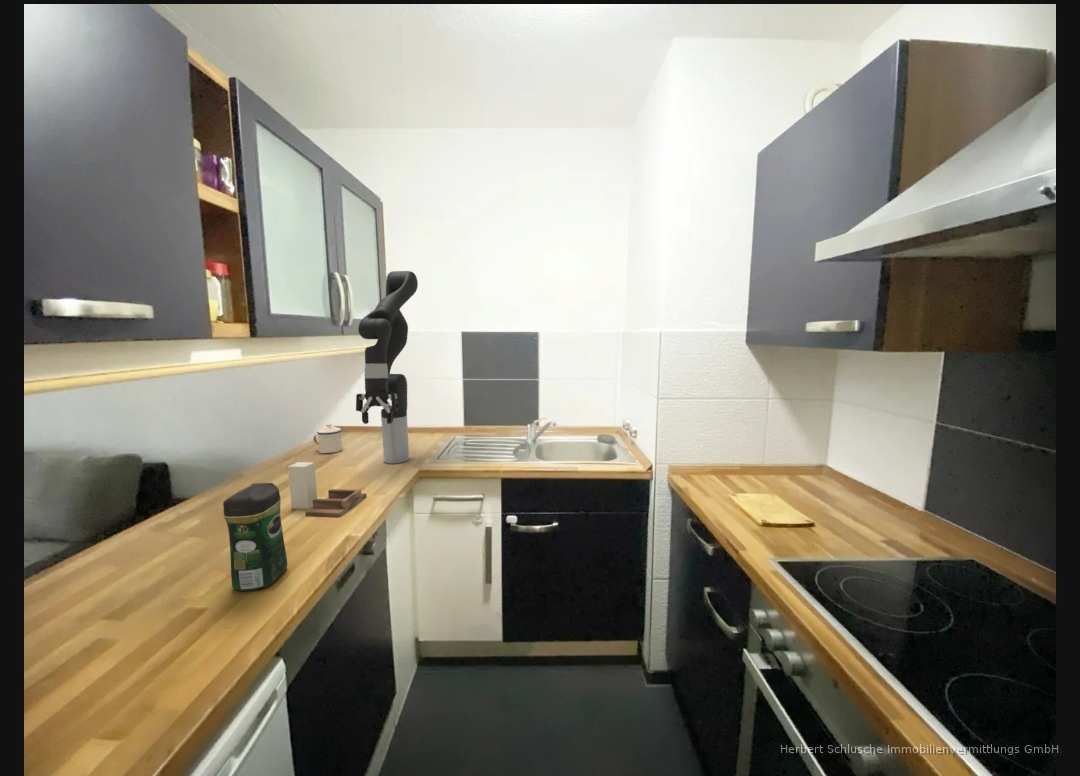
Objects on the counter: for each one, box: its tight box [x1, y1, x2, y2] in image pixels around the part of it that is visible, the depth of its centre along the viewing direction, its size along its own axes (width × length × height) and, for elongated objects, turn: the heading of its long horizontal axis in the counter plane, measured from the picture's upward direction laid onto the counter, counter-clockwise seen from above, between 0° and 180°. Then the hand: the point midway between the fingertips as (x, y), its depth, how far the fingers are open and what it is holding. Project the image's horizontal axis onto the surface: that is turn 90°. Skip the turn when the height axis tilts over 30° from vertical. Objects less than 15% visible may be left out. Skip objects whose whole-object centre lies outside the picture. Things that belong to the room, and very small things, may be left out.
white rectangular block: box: [287, 461, 318, 510], centre depth 118 cm, size 4×5×12 cm
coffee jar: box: [222, 482, 288, 592], centre depth 82 cm, size 10×8×19 cm
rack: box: [304, 488, 368, 518], centre depth 118 cm, size 14×10×3 cm
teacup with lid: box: [312, 423, 343, 454], centre depth 175 cm, size 12×9×12 cm
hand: (377, 423), depth 146 cm, fingers open, 8 cm apart
